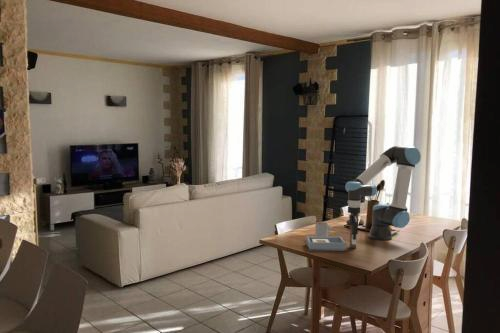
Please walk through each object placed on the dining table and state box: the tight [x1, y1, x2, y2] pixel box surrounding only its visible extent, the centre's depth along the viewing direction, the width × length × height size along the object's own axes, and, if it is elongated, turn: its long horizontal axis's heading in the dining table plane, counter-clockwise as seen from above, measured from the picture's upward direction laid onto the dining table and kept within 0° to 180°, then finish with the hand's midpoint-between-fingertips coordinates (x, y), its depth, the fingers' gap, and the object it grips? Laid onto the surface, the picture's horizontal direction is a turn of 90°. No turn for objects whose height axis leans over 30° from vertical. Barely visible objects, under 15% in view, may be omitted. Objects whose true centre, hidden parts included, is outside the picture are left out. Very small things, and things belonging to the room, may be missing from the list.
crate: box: [306, 236, 347, 252], centre depth 252 cm, size 22×14×5 cm, turn 89°
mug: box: [314, 221, 332, 237], centre depth 272 cm, size 12×8×11 cm
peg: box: [349, 225, 357, 249], centre depth 251 cm, size 4×4×14 cm
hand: (353, 243), depth 252 cm, fingers closed on peg, 4 cm apart
